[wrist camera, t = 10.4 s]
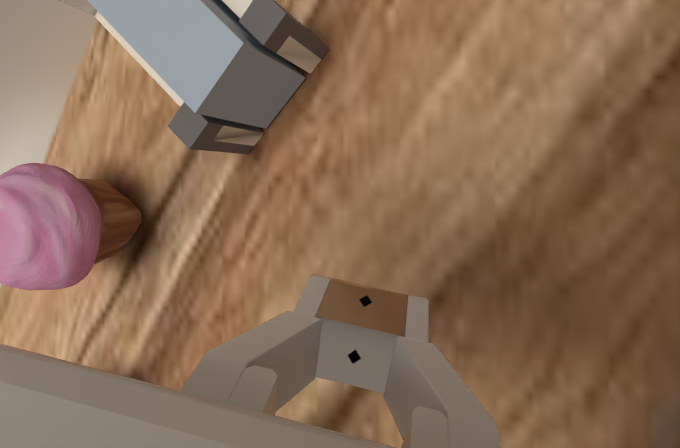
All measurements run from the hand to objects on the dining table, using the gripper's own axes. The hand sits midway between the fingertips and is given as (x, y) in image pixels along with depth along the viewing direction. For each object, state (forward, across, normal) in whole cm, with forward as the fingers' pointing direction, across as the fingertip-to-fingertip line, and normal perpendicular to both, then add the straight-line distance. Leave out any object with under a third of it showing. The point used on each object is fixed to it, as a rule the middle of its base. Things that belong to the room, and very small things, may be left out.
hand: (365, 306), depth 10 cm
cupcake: (+18, +22, +11) cm, 31 cm away
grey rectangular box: (+21, +14, -3) cm, 25 cm away
